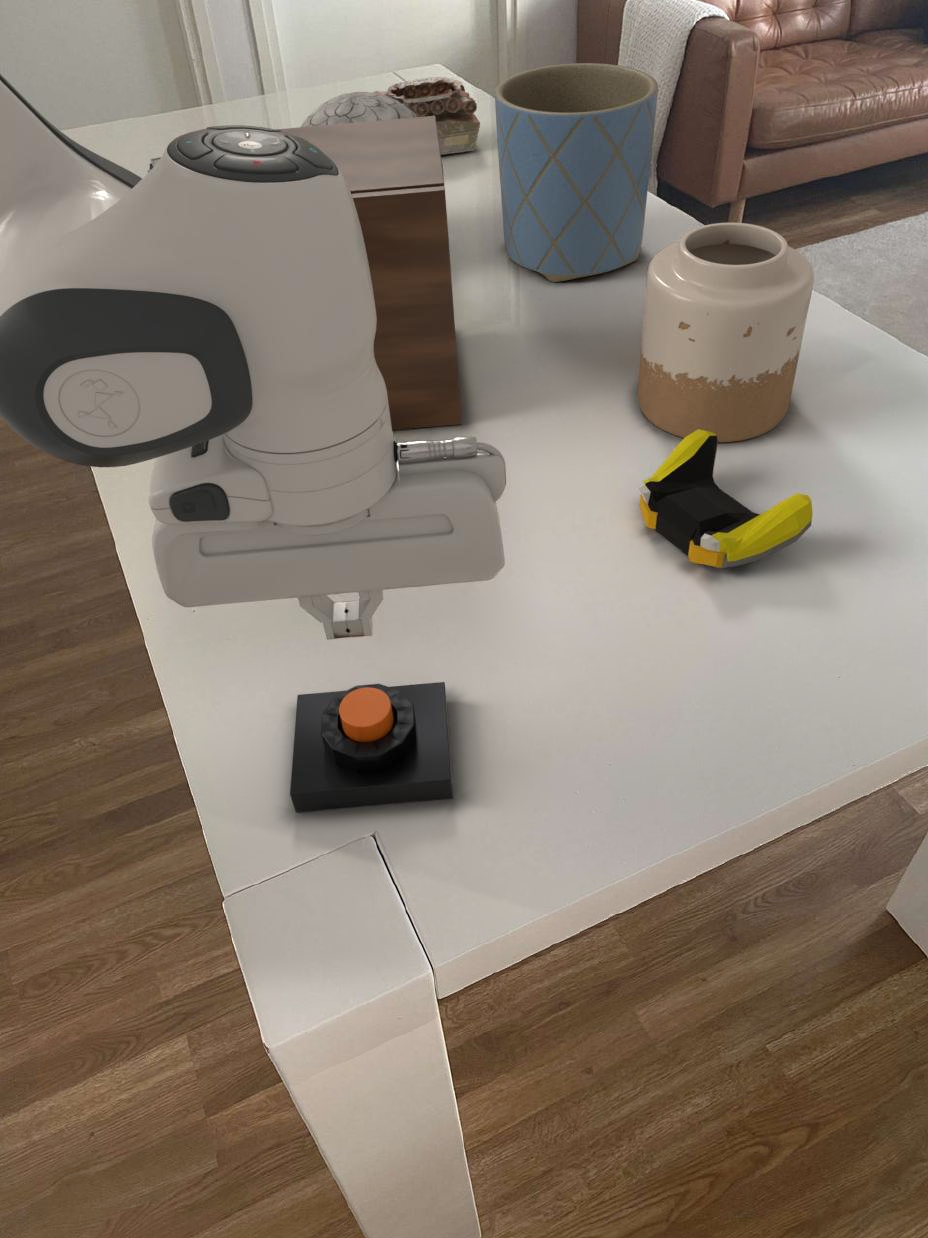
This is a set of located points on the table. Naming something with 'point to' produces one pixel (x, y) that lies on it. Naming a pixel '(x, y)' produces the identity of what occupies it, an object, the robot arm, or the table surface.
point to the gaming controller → (715, 510)
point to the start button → (366, 714)
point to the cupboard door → (412, 303)
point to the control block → (372, 752)
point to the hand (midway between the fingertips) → (350, 631)
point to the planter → (575, 166)
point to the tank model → (441, 110)
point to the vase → (723, 331)
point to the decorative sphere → (358, 110)
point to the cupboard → (381, 152)
